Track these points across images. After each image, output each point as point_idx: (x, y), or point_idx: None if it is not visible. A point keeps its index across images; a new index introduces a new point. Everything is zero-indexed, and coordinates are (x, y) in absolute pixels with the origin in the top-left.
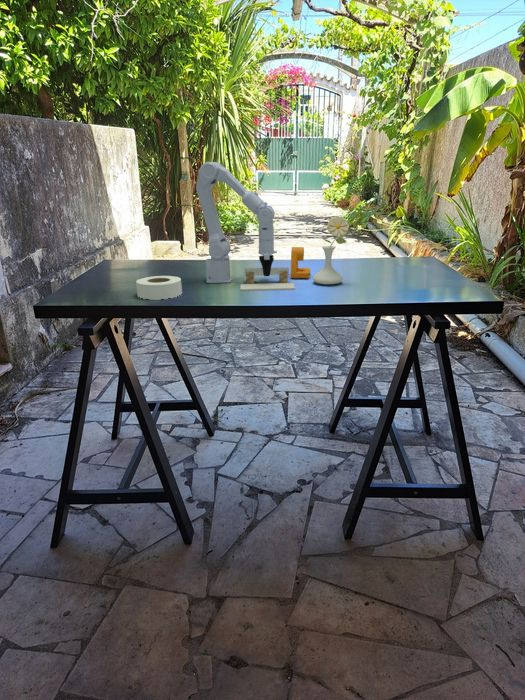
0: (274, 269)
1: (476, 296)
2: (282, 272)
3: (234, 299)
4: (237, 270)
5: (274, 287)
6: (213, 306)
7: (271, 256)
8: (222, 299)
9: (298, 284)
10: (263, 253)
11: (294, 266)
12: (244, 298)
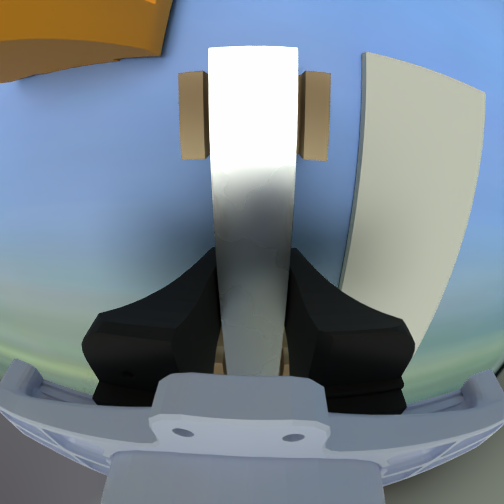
0: (290, 227)
1: None
2: (326, 131)
3: (489, 343)
4: (28, 341)
5: (454, 208)
6: (501, 367)
7: (179, 363)
8: (470, 369)
9: (353, 18)
10: (416, 472)
11: (103, 5)
12: (498, 321)
